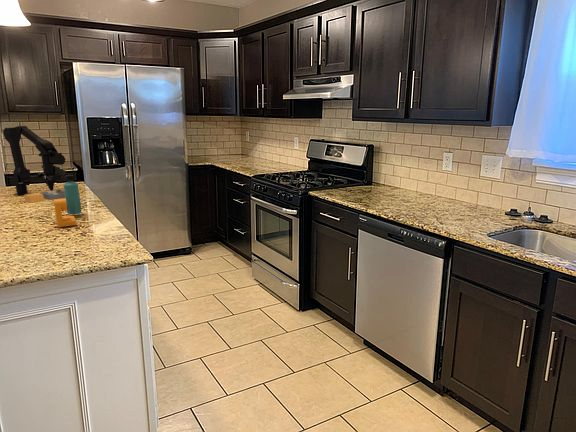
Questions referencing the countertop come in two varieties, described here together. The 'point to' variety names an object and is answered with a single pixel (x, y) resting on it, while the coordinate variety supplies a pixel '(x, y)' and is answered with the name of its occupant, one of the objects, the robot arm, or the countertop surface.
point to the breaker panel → (54, 194)
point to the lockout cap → (34, 197)
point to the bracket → (61, 221)
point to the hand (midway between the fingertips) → (51, 190)
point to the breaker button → (52, 191)
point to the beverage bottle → (72, 196)
